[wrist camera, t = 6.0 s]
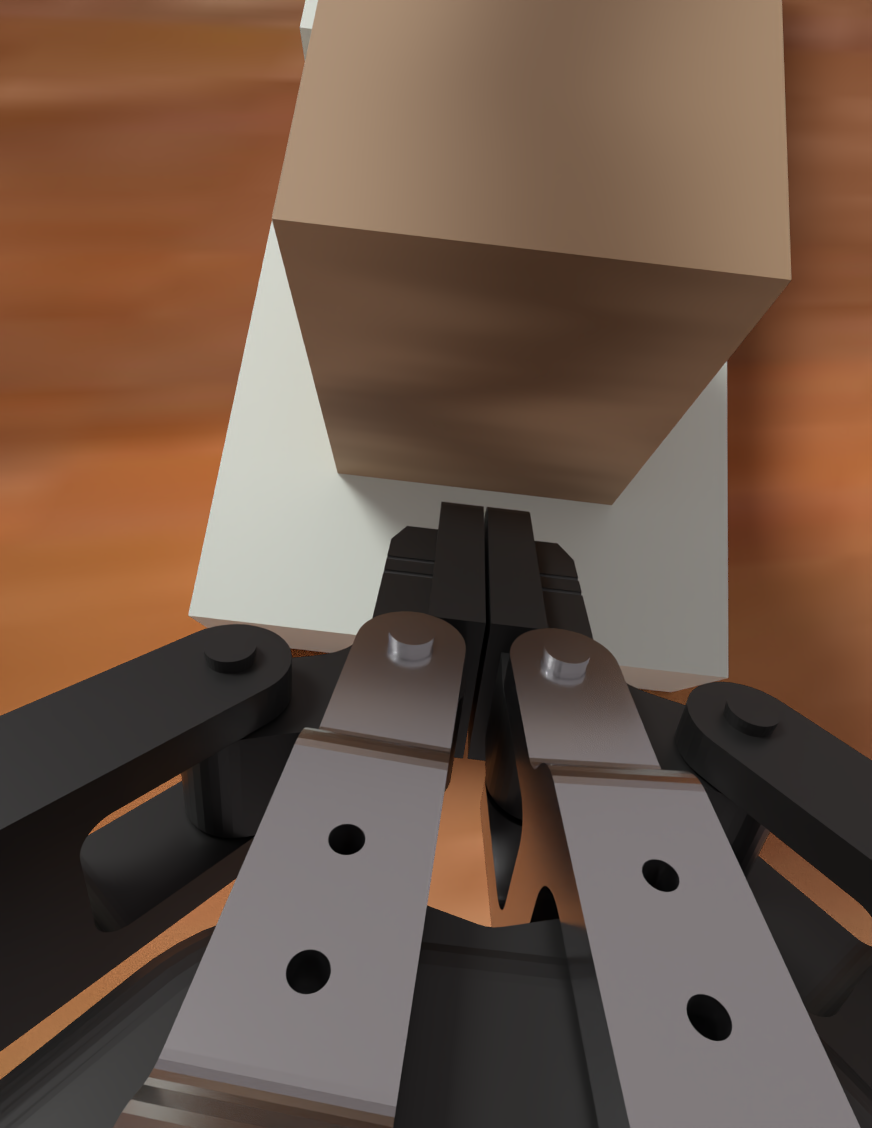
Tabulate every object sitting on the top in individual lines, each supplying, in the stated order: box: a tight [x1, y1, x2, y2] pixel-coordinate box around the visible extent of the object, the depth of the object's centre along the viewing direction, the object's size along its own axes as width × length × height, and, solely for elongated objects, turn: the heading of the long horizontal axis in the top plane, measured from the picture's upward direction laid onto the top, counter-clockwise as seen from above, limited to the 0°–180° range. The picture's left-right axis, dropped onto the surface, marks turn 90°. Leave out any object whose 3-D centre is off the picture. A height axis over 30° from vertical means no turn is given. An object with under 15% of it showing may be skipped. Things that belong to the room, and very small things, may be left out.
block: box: [272, 0, 791, 505], centre depth 13 cm, size 6×6×8 cm
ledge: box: [188, 222, 728, 692], centre depth 19 cm, size 12×16×4 cm
